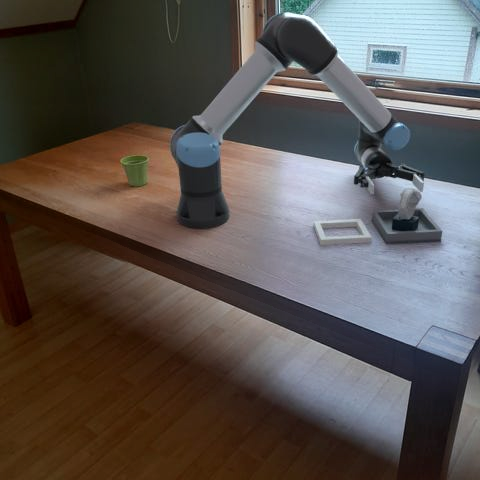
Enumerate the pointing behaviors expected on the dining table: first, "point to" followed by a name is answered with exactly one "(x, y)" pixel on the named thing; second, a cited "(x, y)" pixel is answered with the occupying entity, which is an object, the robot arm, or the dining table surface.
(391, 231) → the tray
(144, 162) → the plant pot
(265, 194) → the dining table surface
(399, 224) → the watch
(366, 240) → the white open frame
